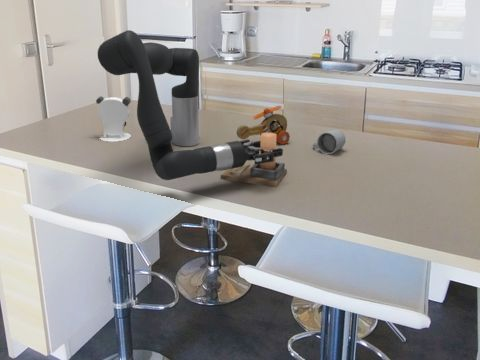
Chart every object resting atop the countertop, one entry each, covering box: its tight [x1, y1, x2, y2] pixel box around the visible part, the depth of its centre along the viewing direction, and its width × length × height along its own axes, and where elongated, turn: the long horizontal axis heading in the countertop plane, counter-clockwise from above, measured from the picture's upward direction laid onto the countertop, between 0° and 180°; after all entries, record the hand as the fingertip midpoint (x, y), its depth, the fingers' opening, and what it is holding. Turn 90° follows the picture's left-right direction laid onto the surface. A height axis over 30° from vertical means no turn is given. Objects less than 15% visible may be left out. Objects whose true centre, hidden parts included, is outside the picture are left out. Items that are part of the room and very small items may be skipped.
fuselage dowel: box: [259, 133, 277, 171], centre depth 143 cm, size 5×5×12 cm
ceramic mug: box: [312, 129, 346, 155], centre depth 168 cm, size 11×8×8 cm
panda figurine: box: [95, 96, 132, 143], centre depth 178 cm, size 12×11×15 cm
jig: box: [220, 161, 288, 188], centre depth 146 cm, size 17×12×4 cm
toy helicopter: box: [236, 105, 291, 145], centre depth 172 cm, size 8×21×14 cm, turn 122°
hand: (273, 147), depth 144 cm, fingers open, 8 cm apart
